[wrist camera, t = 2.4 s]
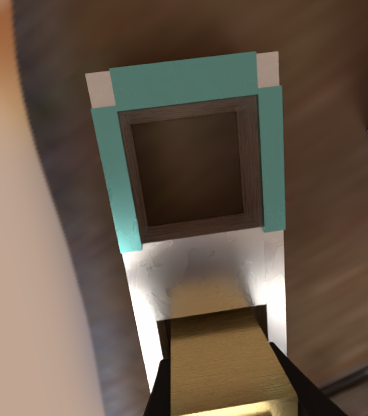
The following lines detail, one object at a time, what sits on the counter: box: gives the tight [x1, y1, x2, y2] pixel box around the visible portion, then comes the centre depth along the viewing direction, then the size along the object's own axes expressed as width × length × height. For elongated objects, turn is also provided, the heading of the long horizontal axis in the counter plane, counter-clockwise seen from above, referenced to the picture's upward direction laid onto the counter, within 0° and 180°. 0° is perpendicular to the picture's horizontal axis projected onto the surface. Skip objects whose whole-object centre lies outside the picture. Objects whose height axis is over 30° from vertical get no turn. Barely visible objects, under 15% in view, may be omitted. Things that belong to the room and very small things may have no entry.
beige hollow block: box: [171, 307, 298, 416], centre depth 10 cm, size 4×4×6 cm
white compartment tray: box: [85, 51, 287, 392], centre depth 11 cm, size 17×7×3 cm, turn 7°
